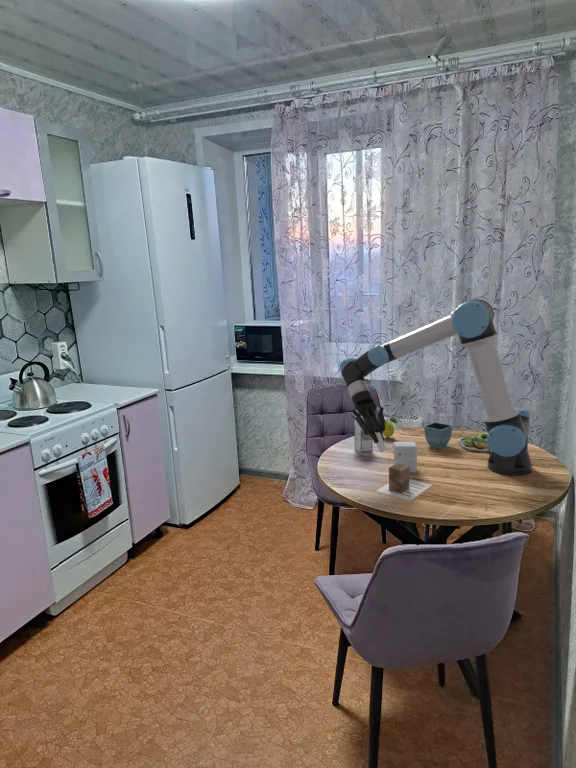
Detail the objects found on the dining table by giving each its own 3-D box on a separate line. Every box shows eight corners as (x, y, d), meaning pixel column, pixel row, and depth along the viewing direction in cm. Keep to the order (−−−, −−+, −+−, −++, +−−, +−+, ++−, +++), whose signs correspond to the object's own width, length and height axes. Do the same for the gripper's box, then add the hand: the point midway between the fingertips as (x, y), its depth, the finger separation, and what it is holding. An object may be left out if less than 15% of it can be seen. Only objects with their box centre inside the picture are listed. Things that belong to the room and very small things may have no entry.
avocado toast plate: (510, 455, 203) (511, 444, 202) (464, 455, 205) (464, 444, 204) (498, 440, 221) (499, 430, 220) (456, 440, 224) (456, 430, 223)
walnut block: (409, 488, 175) (409, 466, 173) (401, 493, 171) (402, 470, 170) (396, 484, 178) (396, 463, 176) (388, 489, 175) (388, 467, 173)
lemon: (397, 436, 231) (397, 415, 228) (392, 440, 226) (392, 419, 224) (383, 435, 234) (383, 414, 232) (378, 438, 229) (378, 417, 227)
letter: (432, 485, 177) (432, 484, 177) (410, 501, 165) (410, 500, 165) (399, 477, 186) (399, 476, 186) (375, 491, 174) (375, 491, 174)
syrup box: (366, 447, 219) (366, 414, 216) (373, 451, 213) (372, 418, 210) (354, 449, 217) (353, 416, 214) (360, 453, 212) (360, 419, 209)
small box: (414, 467, 194) (415, 441, 192) (417, 473, 189) (417, 446, 186) (393, 467, 195) (393, 441, 193) (395, 473, 189) (395, 446, 187)
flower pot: (434, 441, 222) (434, 421, 220) (452, 445, 216) (453, 425, 214) (423, 446, 217) (423, 426, 215) (441, 451, 210) (442, 430, 208)
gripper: (372, 398, 198) (394, 452, 186) (342, 402, 194) (363, 457, 182) (379, 387, 192) (403, 442, 180) (348, 391, 188) (370, 448, 176)
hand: (383, 450), depth 181 cm, fingers closed
